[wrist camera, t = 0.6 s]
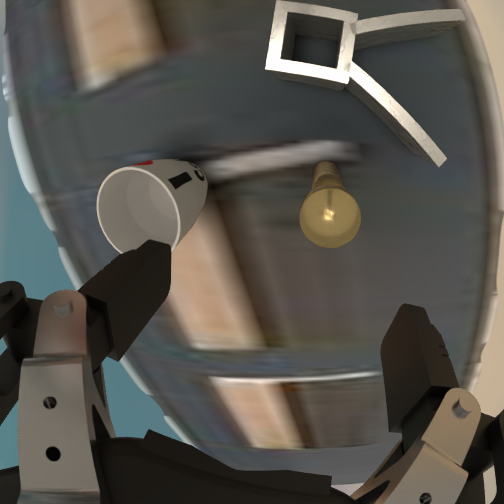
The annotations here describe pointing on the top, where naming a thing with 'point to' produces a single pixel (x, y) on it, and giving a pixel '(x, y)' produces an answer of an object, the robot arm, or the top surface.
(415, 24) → the grey finned stand
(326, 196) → the pin
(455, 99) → the top surface
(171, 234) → the cup
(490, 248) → the top surface
